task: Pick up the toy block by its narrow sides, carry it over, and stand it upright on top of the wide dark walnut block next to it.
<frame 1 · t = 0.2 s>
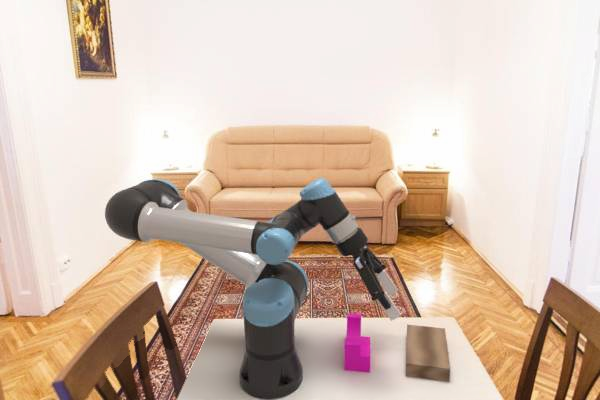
hand: (395, 304, 109), 15 cm above the table, tool tilted 35°, fingers open, 13 cm apart
toy block: (357, 354, 115), on the table
walnut base block: (426, 358, 113), on the table
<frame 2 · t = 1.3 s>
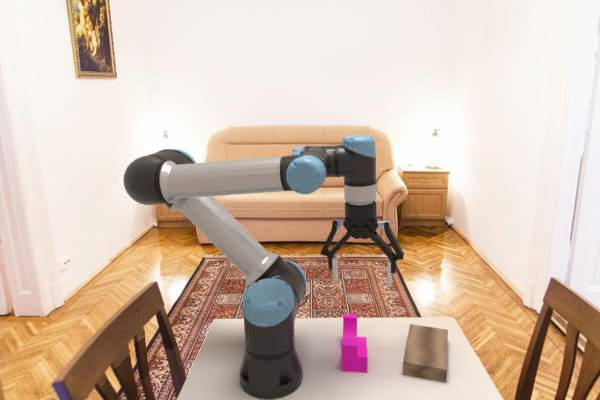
hand: (362, 282, 110), 20 cm above the table, tool pointing down, fingers open, 13 cm apart
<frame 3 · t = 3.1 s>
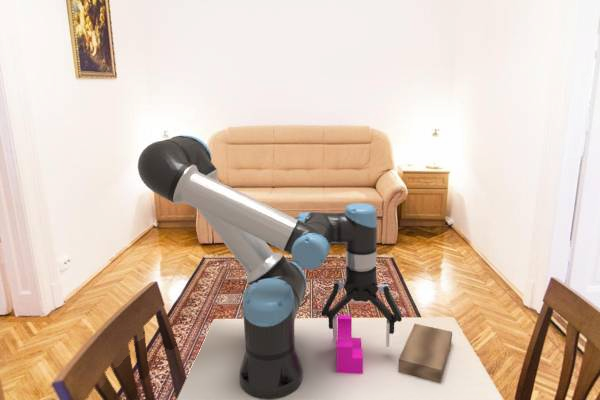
hand: (361, 341, 114), 3 cm above the table, tool pointing down, fingers open, 13 cm apart
toy block: (349, 356, 114), on the table
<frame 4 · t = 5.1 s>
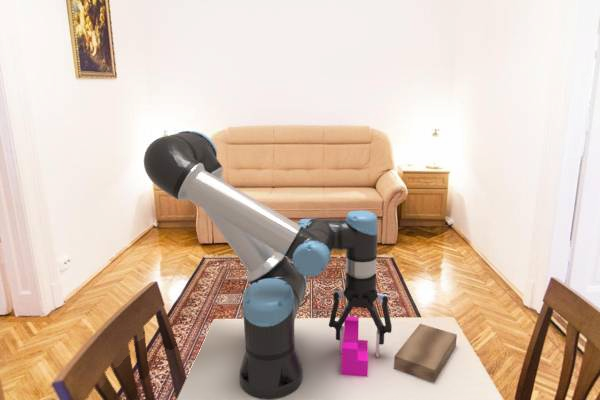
hand: (359, 352, 115), 0 cm above the table, tool pointing down, fingers open, 9 cm apart
toy block: (355, 358, 113), on the table, touching gripper
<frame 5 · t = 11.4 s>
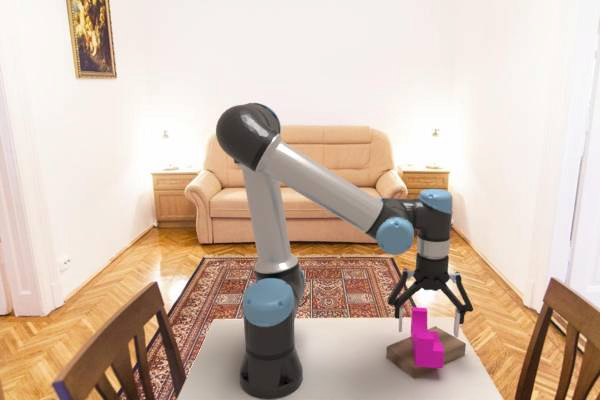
hand: (427, 332, 111), 7 cm above the table, tool pointing down, fingers open, 13 cm apart
toy block: (425, 349, 111), point 3 cm above the table, touching walnut base block
walnut base block: (425, 358, 113), on the table, touching toy block
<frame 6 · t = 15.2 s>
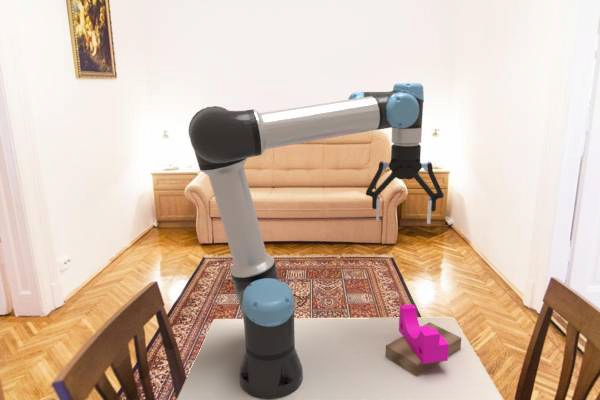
hand: (402, 221, 120), 32 cm above the table, tool pointing down, fingers open, 13 cm apart
toy block: (421, 345, 112), point 3 cm above the table, touching walnut base block
walnut base block: (423, 355, 115), on the table, touching toy block
at the end: toy block inside the target area on the walnut base block (1.7 cm from its centre), point 3.8 cm above the walnut base block's base; toy block tilted 0°; the gripper is holding nothing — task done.
